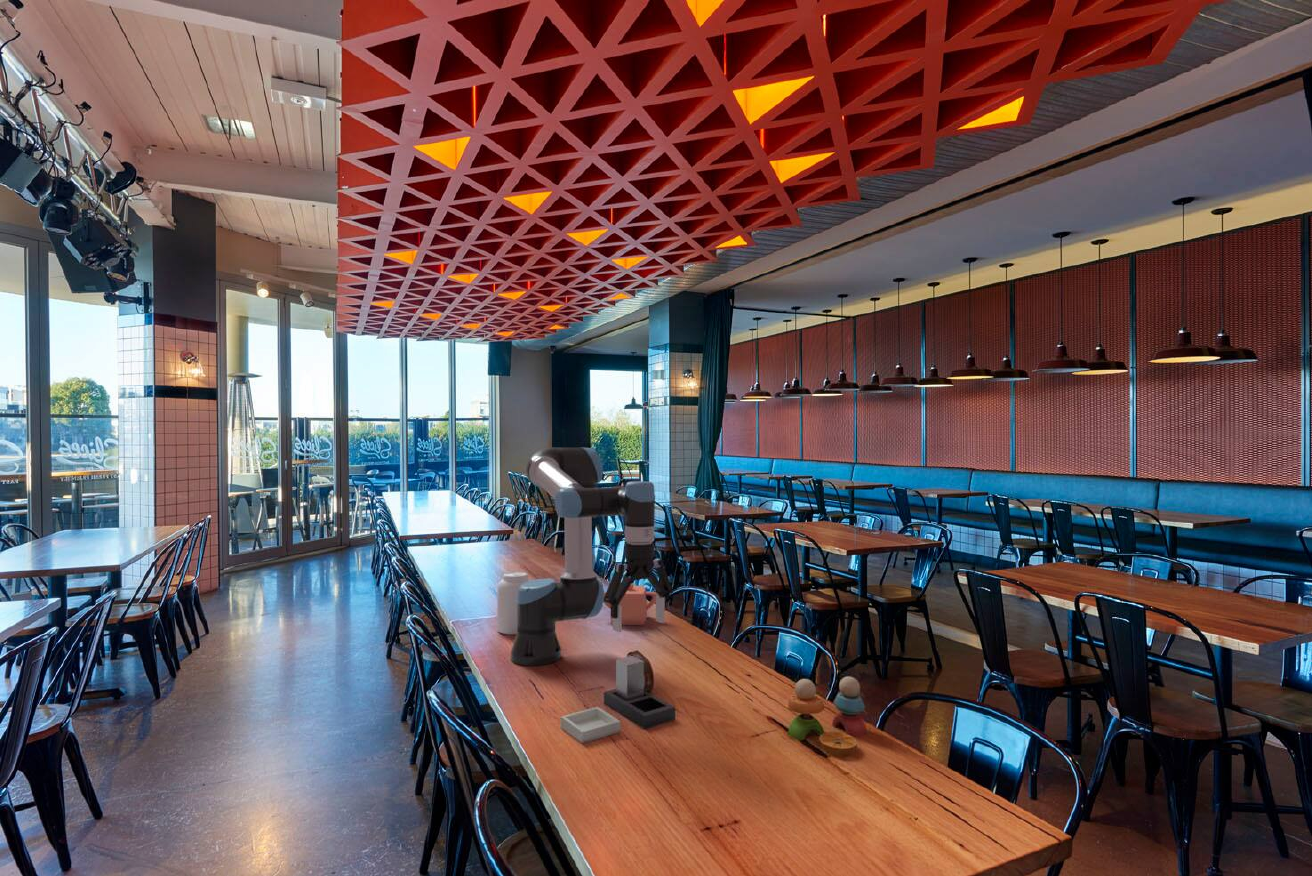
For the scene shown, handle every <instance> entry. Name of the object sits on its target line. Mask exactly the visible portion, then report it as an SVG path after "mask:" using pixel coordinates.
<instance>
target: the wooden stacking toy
mask: <svg viewBox="0 0 1312 876" xmlns="http://www.w3.org/2000/svg"><path fill="white" fill-rule="evenodd" d="M838 688H839V692H838V693H837V695H836V697H835V699H834V701H833V705H834V706H835V708H836V709H837V710H838V711H839V712H838V713H837V714H836V715H835V716H834V718H833V720H832V722H831V723H832V727H838V726H843V728H844V730H845V732H839V731H829V732H828V731H827V732H825V730H824V728H823V725H822V724H821V722H820V721H819V719H817V718H816V717H815V716H814V715H815V714H818V713H819V714H820V713H822V712H823V711H824V710H825V706H824V705H825V704H824V702H823V699H822V697H821V696H819V695H818V694H816V693H817V686H816V685H815V684H814V682H813V681H812V680H810V679H808V678H801V679H799V680H798V681H797V682H796V684H795V686H794V691H795V693H794V694H791V695H790V697H789V700H788V703H787V706H788V709H789V710H790V711H792V712H794V713H797V714H799V715H797V716H796V717H794V718H793V720H791V722H790V724H789V726H788V735H789V736H791V737H792V738H794V739H795V740H799V741H805V738H806V737H807V735H810V733H811V731H813V732H814V733H816V734H818V735H819V743H820V746H821V749H822V751H823V752H825V753H826V754H827V755H831V756H833V757H842V758H843V757H851V756H853V755H854V753H856V749H857V746H858V741H857V739H856V738H857V737H858V738H859V737H863V736H865V735H867V728H866V724H865V722H864V720H863V718H862V716H860V713H862V712H863V711H864V710H865V707H866V706H865V703H864V702H863V698H862V697H861V695H860V690H861V685H860V682H859V681H858V680H857V678H855V677H854V676H853V677H852V676H844V677H843V678H841V679H840V681H839V687H838Z"/></svg>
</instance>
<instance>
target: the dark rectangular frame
mask: <svg viewBox="0 0 1312 876" xmlns="http://www.w3.org/2000/svg"><path fill="white" fill-rule="evenodd" d="M603 705H606V706H607V707H609V708H610V709H612V710H613V711H615V712H616V713H618V714H620V715H621V716H623V717H624V718H626V719H628V721H631V722H633V723H634V724H636V725H638V726H639V727H640V728H642V729H644V730H647V729H650V728H652V727H656V726H659V725H662V724H665V723H668V722H669V723H670V722H672V721H675V720H676V706H674V705H672V704H670V703H668V702H666V700H663V699H661V698H659V697H657V696H655V695H654V694H652V693H649V692H648V691H645V690H643V697H640V698H636V699H633V700H629V701H625V700H623V699H621V698H620V697H618V696H616V688H614V689H610V690H606V691H603Z"/></svg>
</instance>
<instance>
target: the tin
mask: <svg viewBox="0 0 1312 876" xmlns="http://www.w3.org/2000/svg"><path fill="white" fill-rule="evenodd" d="M630 656H634V657H636V658H638V659H640V660H642V661H644V689H643V690H645V691H646V692H648V691H653V689H654V686H655V675H654V671H653V666H652V663H651V661H650V660H649V658H647V657H646V656H645V655H643V653H642V652H641V651H639V650H637V649H636V650H634V651H629V652H628V653H627V655H626V657H630Z"/></svg>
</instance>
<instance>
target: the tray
mask: <svg viewBox="0 0 1312 876" xmlns="http://www.w3.org/2000/svg"><path fill="white" fill-rule="evenodd" d="M560 728H561V729H562V730H563V731H565V732H566V733H568V734H569V735H570V736H571V737H573V738H575V740H577V741H578V742H580V743H581V744H587V743H590V742H592V741H596V740H598V739H601V738H605V737H609V736H612V735H615V734H618V733H621V720H619V719H618V718H616V717H615V716H613V715H611V714H610V713H608V712H607V711H605V710H604V709H602V708H600V707H599V706H595V707H592V708H587V709H584V710H581V711H576V712H573V713H569V714H566V715H563V716H560Z"/></svg>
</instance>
